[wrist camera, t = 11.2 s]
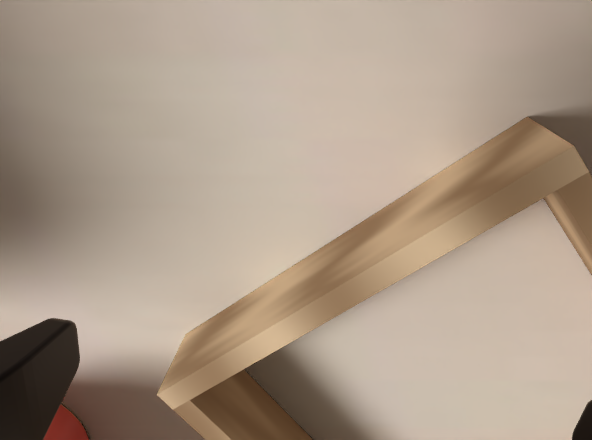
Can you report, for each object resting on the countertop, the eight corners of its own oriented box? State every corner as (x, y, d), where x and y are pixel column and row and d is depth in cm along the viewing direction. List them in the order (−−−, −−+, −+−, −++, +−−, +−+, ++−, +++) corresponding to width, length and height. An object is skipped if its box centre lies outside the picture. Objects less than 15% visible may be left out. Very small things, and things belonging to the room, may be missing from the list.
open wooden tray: (527, 116, 18) (574, 145, 14) (707, 418, 23) (777, 497, 19) (185, 334, 24) (156, 394, 20) (388, 536, 28) (395, 614, 25)
